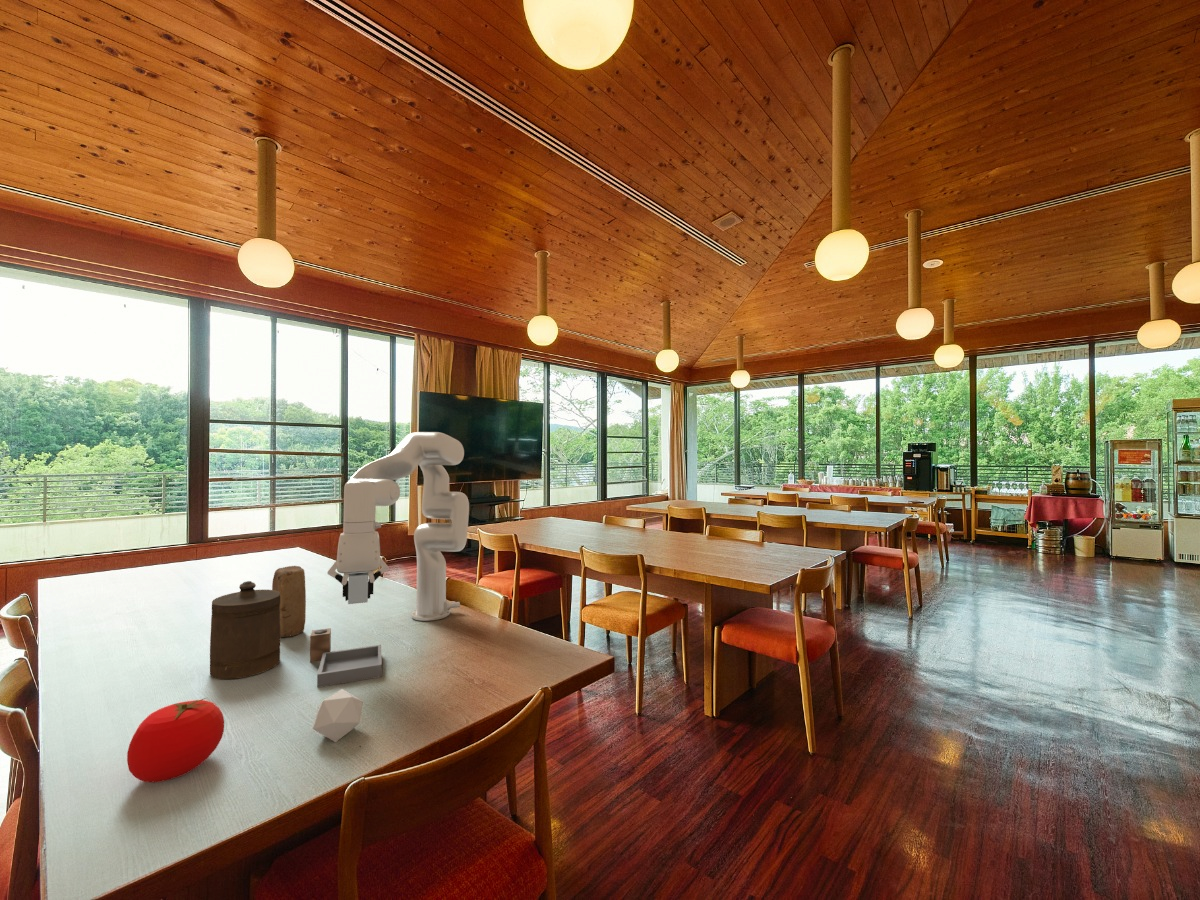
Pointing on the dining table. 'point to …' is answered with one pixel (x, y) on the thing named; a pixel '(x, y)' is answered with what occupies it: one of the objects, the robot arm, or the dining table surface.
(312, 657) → the walnut block
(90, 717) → the dining table surface
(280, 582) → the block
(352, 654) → the tray
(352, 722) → the die
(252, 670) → the wooden container
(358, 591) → the grey rectangular block
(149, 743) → the tomato
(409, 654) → the dining table surface
